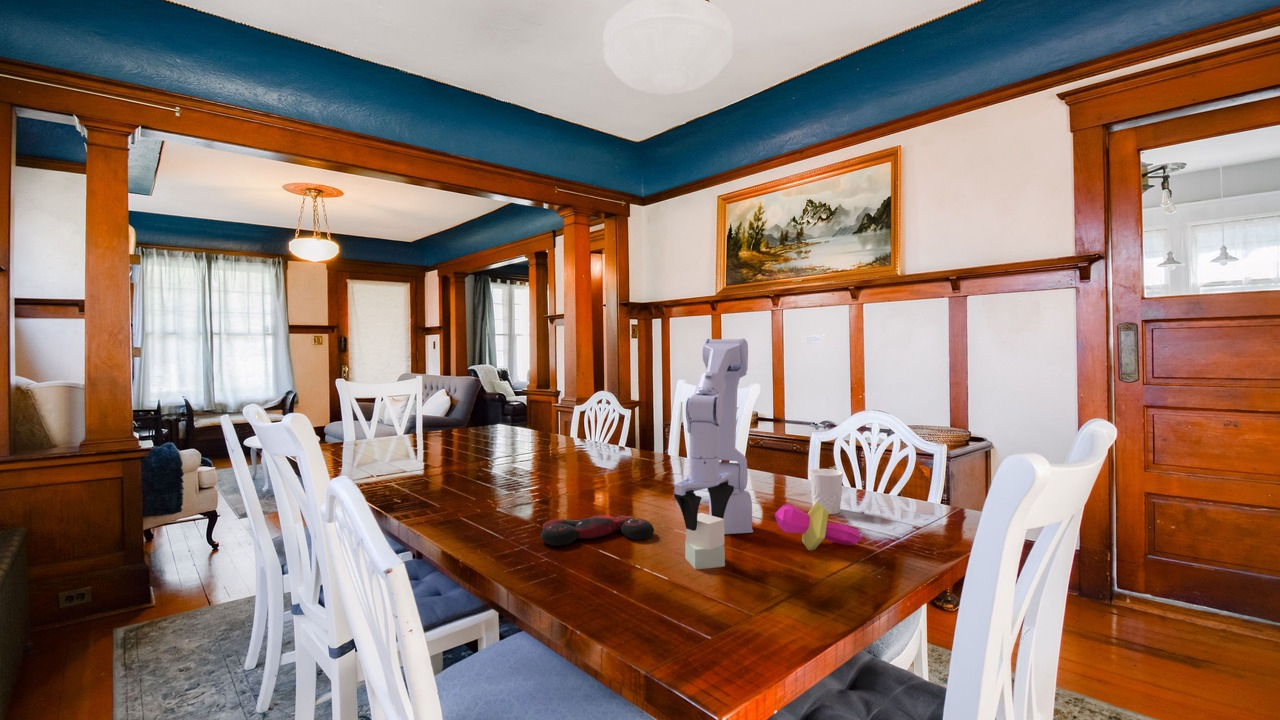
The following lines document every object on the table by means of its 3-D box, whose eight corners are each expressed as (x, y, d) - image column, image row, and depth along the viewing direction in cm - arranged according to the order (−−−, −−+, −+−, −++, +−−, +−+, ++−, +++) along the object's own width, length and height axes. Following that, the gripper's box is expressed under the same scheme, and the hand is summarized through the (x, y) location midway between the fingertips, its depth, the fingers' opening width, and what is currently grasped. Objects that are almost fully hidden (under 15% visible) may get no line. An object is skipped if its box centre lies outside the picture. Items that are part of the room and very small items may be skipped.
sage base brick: (713, 556, 118) (713, 537, 118) (724, 567, 113) (724, 546, 113) (685, 559, 117) (685, 539, 117) (695, 570, 111) (695, 549, 111)
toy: (864, 562, 116) (870, 511, 120) (777, 536, 117) (786, 486, 121) (843, 565, 125) (850, 517, 129) (763, 540, 126) (772, 493, 130)
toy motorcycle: (657, 546, 128) (642, 514, 144) (657, 524, 127) (642, 495, 143) (542, 559, 123) (539, 524, 138) (541, 536, 122) (538, 504, 137)
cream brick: (701, 537, 118) (701, 512, 118) (724, 544, 114) (724, 519, 114) (686, 542, 115) (685, 517, 115) (709, 550, 111) (708, 524, 111)
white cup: (849, 512, 148) (849, 473, 148) (827, 517, 144) (827, 476, 144) (825, 505, 155) (825, 467, 155) (803, 509, 151) (803, 471, 151)
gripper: (713, 448, 122) (714, 513, 122) (663, 458, 112) (663, 528, 113) (740, 453, 117) (740, 520, 117) (689, 463, 107) (690, 537, 108)
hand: (704, 525), depth 115 cm, fingers open, 7 cm apart
